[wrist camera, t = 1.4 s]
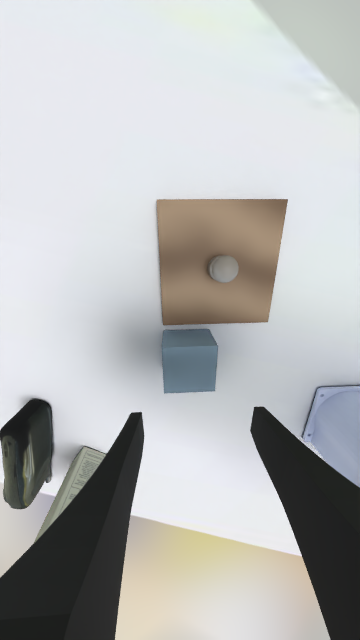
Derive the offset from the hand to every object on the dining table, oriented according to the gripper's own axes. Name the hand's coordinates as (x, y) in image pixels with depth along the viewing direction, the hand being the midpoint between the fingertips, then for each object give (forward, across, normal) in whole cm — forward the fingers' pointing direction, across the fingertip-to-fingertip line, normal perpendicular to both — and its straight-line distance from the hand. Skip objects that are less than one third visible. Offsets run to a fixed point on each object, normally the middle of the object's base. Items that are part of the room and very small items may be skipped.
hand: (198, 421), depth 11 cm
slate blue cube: (+9, 0, 0) cm, 9 cm away
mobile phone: (+10, +20, +14) cm, 26 cm away
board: (+9, -3, -9) cm, 13 cm away
